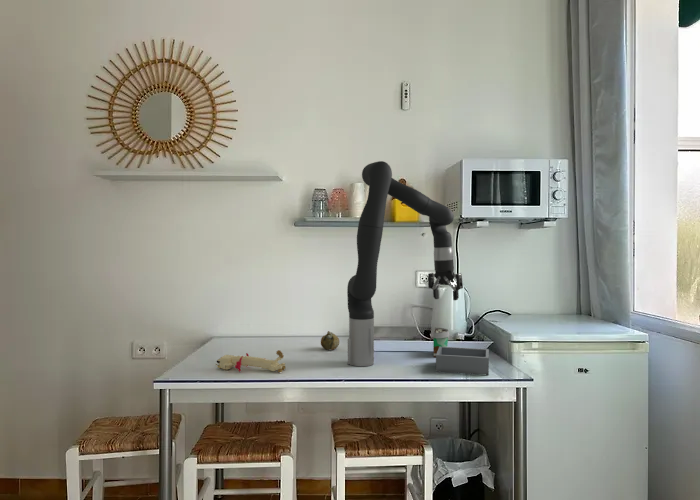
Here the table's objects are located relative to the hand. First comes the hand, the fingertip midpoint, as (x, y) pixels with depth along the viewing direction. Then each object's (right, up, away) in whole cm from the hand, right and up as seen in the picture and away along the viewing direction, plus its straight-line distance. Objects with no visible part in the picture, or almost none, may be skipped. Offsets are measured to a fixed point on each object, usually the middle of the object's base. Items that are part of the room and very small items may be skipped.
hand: (446, 299), depth 214 cm
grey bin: (+3, -23, -18) cm, 30 cm away
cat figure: (-74, -24, -19) cm, 80 cm away
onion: (-46, -22, +13) cm, 53 cm away
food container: (-1, -23, +3) cm, 23 cm away
